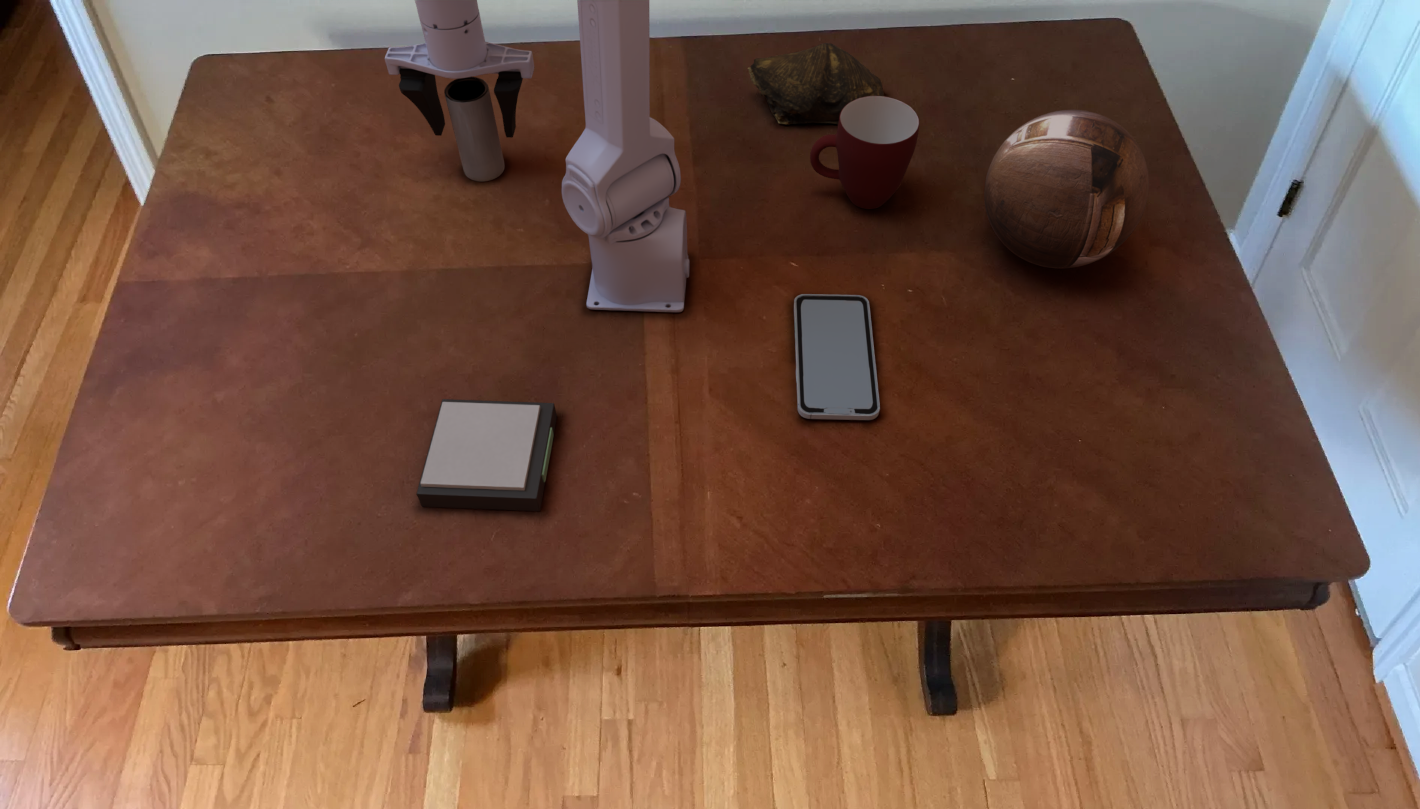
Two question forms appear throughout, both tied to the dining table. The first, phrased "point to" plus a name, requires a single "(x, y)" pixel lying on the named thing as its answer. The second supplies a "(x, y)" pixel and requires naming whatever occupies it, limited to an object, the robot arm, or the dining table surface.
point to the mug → (870, 148)
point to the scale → (488, 455)
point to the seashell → (812, 84)
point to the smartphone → (835, 358)
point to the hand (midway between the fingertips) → (475, 130)
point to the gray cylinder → (475, 128)
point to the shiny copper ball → (1066, 189)
